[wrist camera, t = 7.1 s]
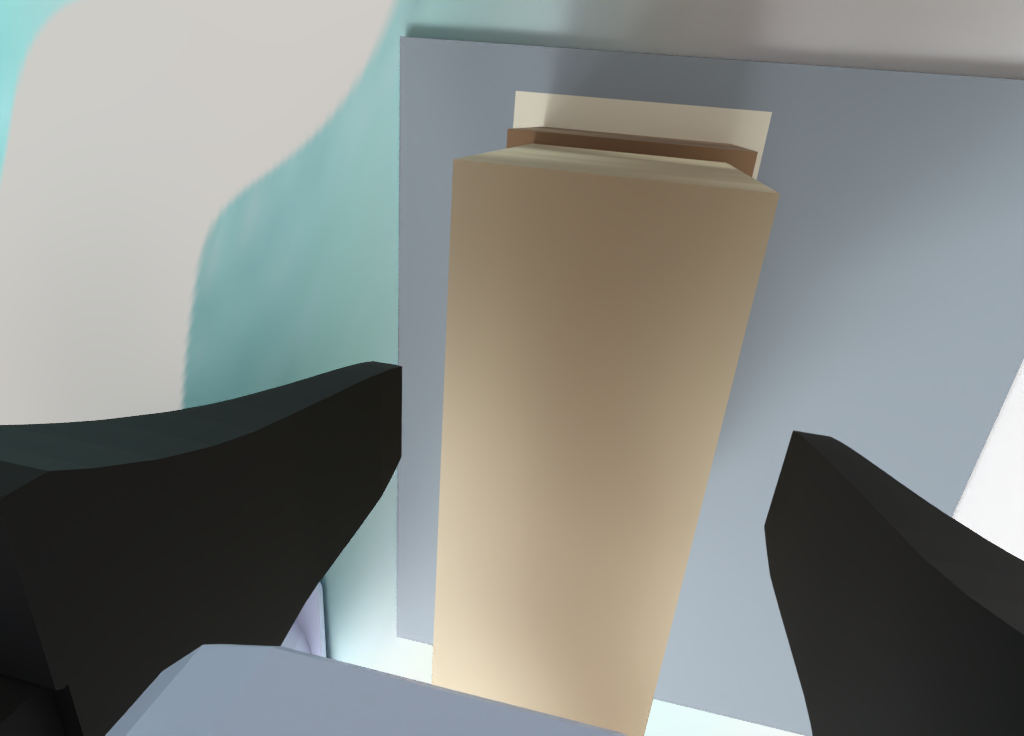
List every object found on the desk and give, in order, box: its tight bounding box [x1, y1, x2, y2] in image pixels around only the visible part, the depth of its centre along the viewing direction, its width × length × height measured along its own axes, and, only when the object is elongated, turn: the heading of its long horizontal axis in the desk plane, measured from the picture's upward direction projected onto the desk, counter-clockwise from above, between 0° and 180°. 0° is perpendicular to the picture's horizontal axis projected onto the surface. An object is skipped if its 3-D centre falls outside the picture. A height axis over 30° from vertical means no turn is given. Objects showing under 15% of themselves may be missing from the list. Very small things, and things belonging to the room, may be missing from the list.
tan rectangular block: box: [432, 143, 780, 736], centre depth 11 cm, size 4×10×5 cm, turn 175°
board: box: [397, 36, 1024, 736], centre depth 18 cm, size 16×20×1 cm
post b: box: [506, 127, 758, 177], centre depth 14 cm, size 4×4×4 cm
